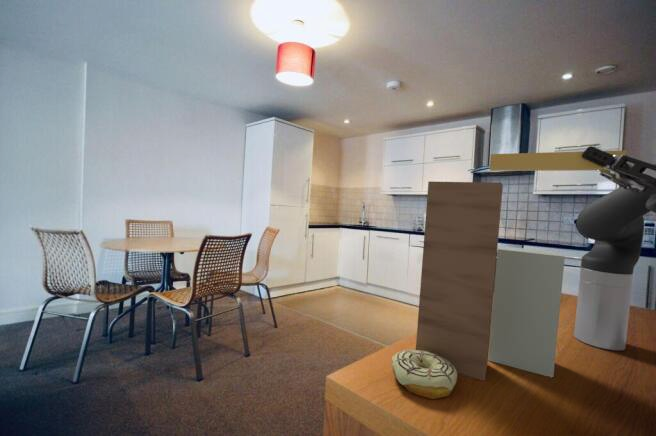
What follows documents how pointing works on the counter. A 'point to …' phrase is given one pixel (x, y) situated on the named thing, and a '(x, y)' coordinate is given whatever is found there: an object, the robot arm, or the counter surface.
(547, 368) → the grey-green block
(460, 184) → the walnut pillar
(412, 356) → the decorated donut
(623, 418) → the counter surface
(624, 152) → the ochre bar
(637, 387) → the counter surface
